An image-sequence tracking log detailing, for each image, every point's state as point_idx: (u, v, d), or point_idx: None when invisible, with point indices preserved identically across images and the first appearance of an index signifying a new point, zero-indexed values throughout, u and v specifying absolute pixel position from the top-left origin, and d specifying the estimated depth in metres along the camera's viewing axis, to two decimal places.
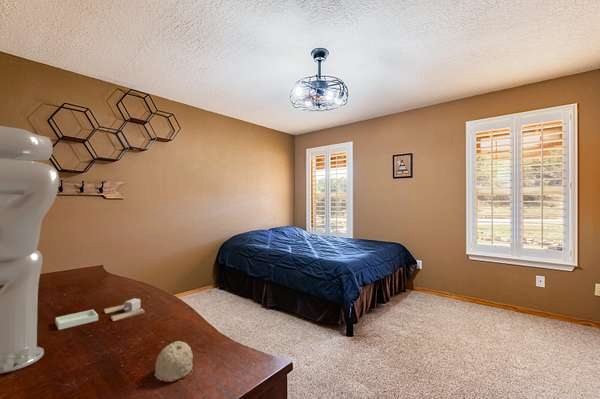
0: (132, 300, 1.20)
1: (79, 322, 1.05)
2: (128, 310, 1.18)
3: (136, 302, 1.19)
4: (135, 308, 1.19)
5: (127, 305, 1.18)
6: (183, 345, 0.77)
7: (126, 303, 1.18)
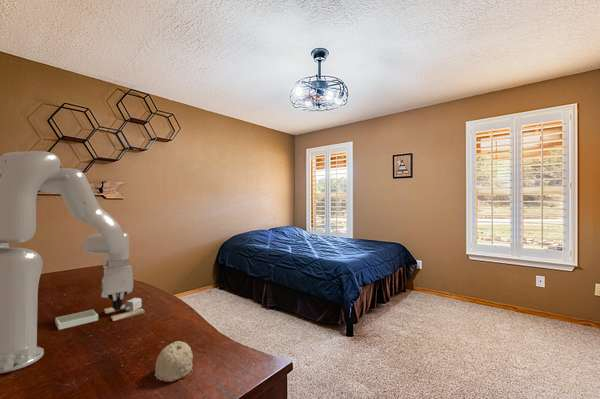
0: (133, 299, 1.20)
1: (79, 322, 1.05)
2: (129, 309, 1.18)
3: (137, 301, 1.20)
4: (136, 307, 1.19)
5: (128, 305, 1.18)
6: (183, 345, 0.77)
7: (127, 303, 1.18)
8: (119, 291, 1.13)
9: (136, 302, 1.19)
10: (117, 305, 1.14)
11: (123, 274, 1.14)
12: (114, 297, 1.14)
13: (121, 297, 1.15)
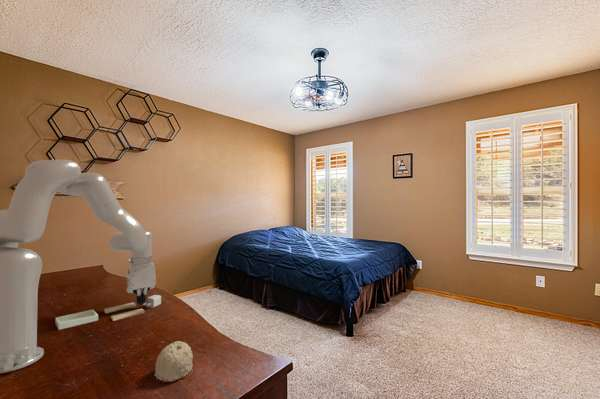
0: (153, 296, 1.25)
1: (79, 322, 1.05)
2: (150, 306, 1.22)
3: (157, 298, 1.24)
4: (156, 304, 1.24)
5: (149, 301, 1.23)
6: (183, 345, 0.77)
7: (148, 299, 1.23)
8: (143, 287, 1.20)
9: (156, 299, 1.24)
10: (141, 300, 1.20)
11: (147, 270, 1.21)
12: (138, 292, 1.20)
13: (145, 292, 1.22)
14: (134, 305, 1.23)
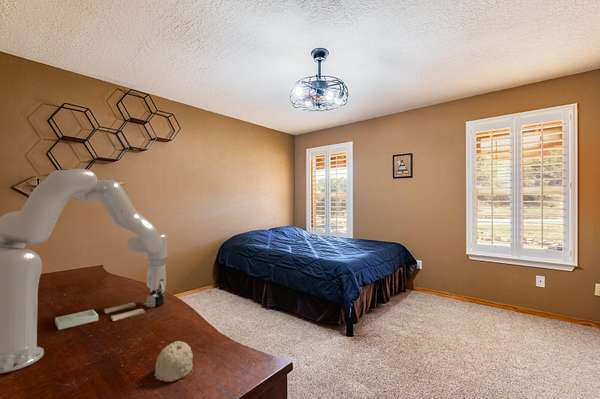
0: (154, 296, 1.25)
1: (79, 322, 1.05)
2: (150, 305, 1.23)
3: None
4: None
5: (149, 300, 1.23)
6: (183, 345, 0.77)
7: (148, 299, 1.23)
8: (150, 287, 1.24)
9: None
10: None
11: (151, 273, 1.23)
12: (150, 290, 1.28)
13: (157, 295, 1.23)
14: (134, 305, 1.23)
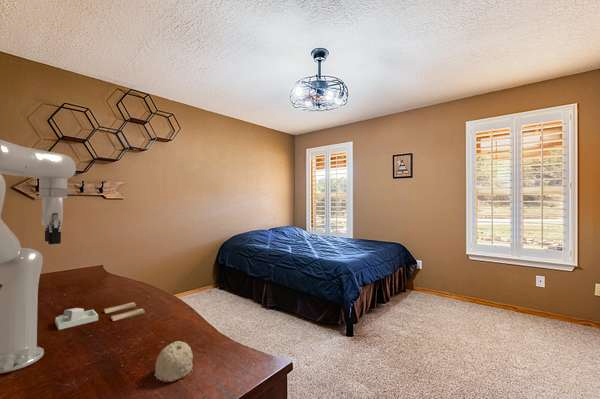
0: (74, 309, 1.07)
1: (79, 322, 1.05)
2: (67, 320, 1.04)
3: (78, 311, 1.06)
4: (76, 318, 1.06)
5: (67, 314, 1.05)
6: (183, 345, 0.77)
7: (66, 311, 1.05)
8: (42, 224, 1.00)
9: (77, 312, 1.06)
10: (45, 235, 1.04)
11: (43, 205, 0.99)
12: (46, 226, 1.04)
13: (50, 230, 0.97)
14: (134, 305, 1.23)
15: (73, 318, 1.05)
